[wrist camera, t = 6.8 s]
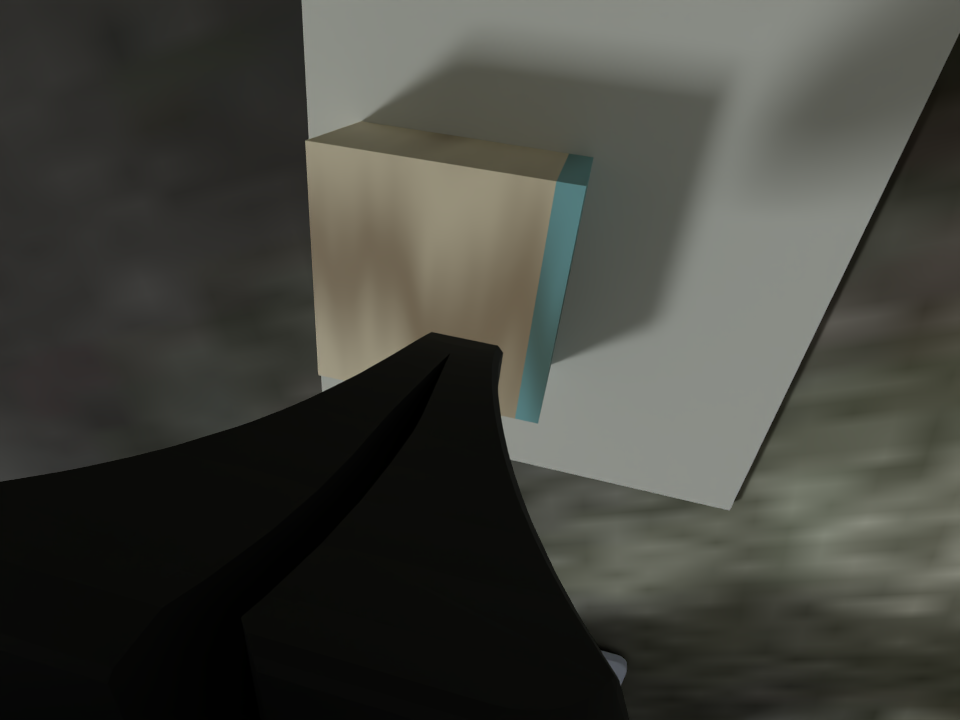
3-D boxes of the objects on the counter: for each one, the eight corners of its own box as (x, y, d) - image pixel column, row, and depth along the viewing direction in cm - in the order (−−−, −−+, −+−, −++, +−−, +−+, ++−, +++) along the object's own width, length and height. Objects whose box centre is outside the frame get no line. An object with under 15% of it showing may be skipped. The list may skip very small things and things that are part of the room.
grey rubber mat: (728, 503, 18) (729, 510, 18) (327, 411, 20) (323, 416, 20) (970, -7, 11) (978, -7, 11) (304, -78, 13) (297, -80, 13)
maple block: (538, 423, 14) (318, 375, 15) (551, 364, 17) (362, 325, 18) (586, 186, 11) (305, 140, 12) (593, 157, 14) (361, 121, 14)
